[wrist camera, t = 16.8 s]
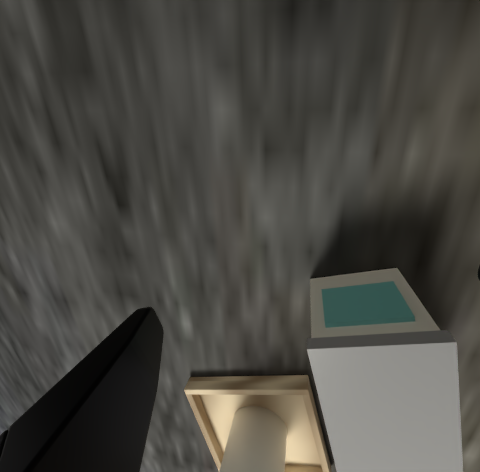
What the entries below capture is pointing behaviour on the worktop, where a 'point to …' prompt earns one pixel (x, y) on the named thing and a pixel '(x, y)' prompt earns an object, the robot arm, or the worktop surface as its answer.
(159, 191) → the worktop surface
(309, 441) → the refill tray
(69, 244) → the worktop surface
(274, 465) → the cartridge
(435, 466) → the box
